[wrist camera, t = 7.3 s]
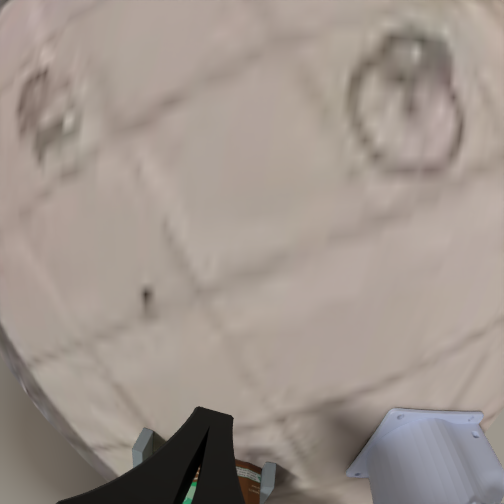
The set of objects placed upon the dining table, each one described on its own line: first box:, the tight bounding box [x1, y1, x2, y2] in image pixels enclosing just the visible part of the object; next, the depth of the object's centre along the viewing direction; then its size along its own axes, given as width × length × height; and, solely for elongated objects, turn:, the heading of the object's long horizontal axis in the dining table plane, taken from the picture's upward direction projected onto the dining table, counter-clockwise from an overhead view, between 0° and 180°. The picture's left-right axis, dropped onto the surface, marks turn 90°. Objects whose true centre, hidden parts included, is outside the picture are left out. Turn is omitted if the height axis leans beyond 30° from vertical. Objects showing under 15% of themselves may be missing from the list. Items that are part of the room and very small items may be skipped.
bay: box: [132, 428, 276, 504], centre depth 21 cm, size 11×14×2 cm
